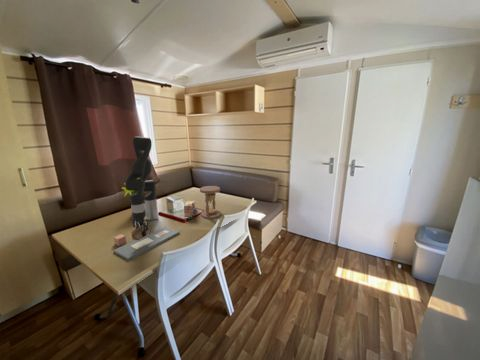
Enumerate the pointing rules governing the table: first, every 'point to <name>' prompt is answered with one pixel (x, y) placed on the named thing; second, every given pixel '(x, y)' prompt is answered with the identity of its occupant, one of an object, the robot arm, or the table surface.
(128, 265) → the table surface
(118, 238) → the terracotta cube
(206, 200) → the hourglass
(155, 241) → the board
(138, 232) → the walnut brick
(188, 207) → the stack of blocks
